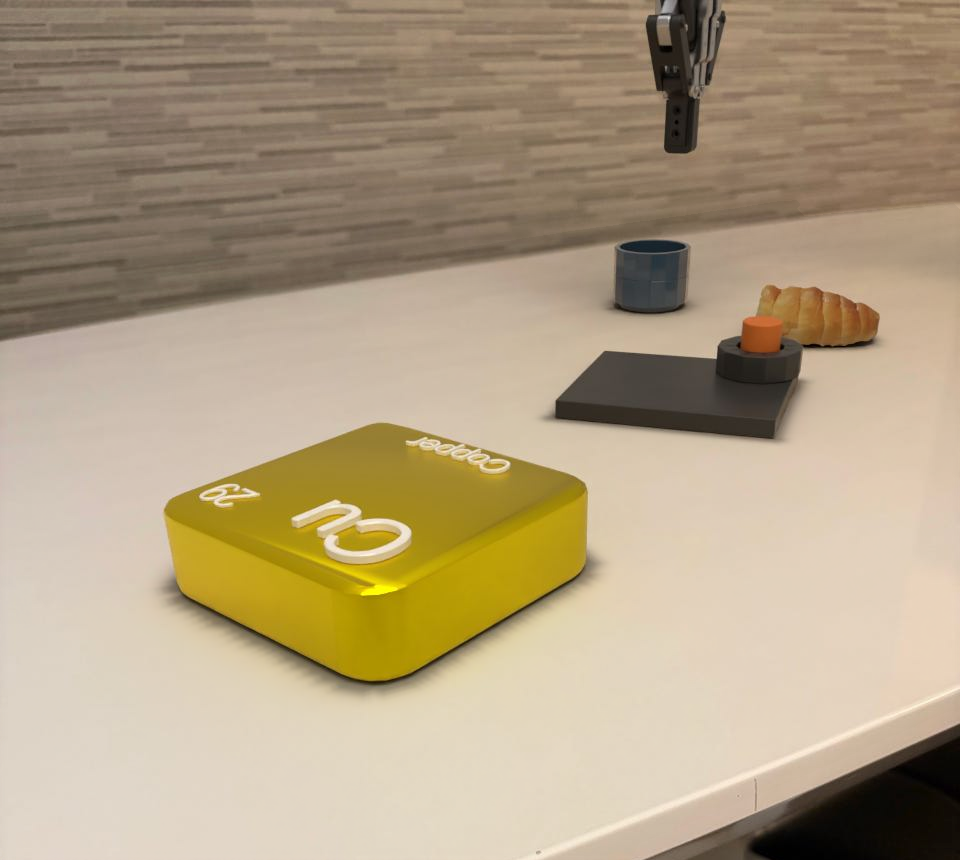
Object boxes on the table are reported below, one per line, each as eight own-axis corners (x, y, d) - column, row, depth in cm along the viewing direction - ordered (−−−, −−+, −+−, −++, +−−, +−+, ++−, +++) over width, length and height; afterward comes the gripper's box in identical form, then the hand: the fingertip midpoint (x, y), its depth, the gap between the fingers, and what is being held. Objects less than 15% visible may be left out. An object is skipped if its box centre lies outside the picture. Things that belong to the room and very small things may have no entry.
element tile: (603, 564, 52) (606, 470, 50) (377, 698, 42) (368, 590, 40) (387, 490, 61) (381, 407, 58) (160, 587, 51) (141, 493, 49)
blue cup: (693, 298, 97) (696, 240, 95) (678, 316, 92) (681, 255, 89) (623, 295, 99) (625, 238, 97) (605, 311, 94) (606, 252, 92)
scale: (801, 380, 76) (807, 337, 74) (777, 439, 66) (783, 391, 64) (604, 365, 80) (605, 324, 79) (554, 418, 70) (555, 372, 69)
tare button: (782, 347, 74) (785, 317, 73) (776, 357, 72) (780, 326, 71) (743, 344, 74) (746, 314, 73) (737, 355, 72) (740, 324, 71)
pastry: (877, 329, 86) (884, 280, 84) (875, 353, 81) (883, 301, 79) (757, 323, 89) (761, 276, 87) (747, 346, 84) (752, 296, 82)
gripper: (671, -110, 81) (658, 142, 90) (613, -124, 71) (605, 162, 80) (771, -118, 78) (748, 143, 87) (726, -133, 68) (704, 164, 77)
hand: (679, 152), depth 84 cm, fingers closed
